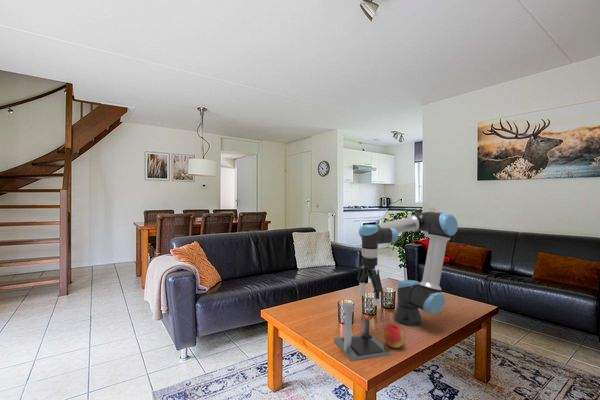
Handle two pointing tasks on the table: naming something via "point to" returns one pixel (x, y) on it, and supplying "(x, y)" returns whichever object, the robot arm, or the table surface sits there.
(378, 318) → the table surface
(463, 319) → the table surface
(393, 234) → the robot arm
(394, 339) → the apple
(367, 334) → the lever
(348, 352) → the stand
